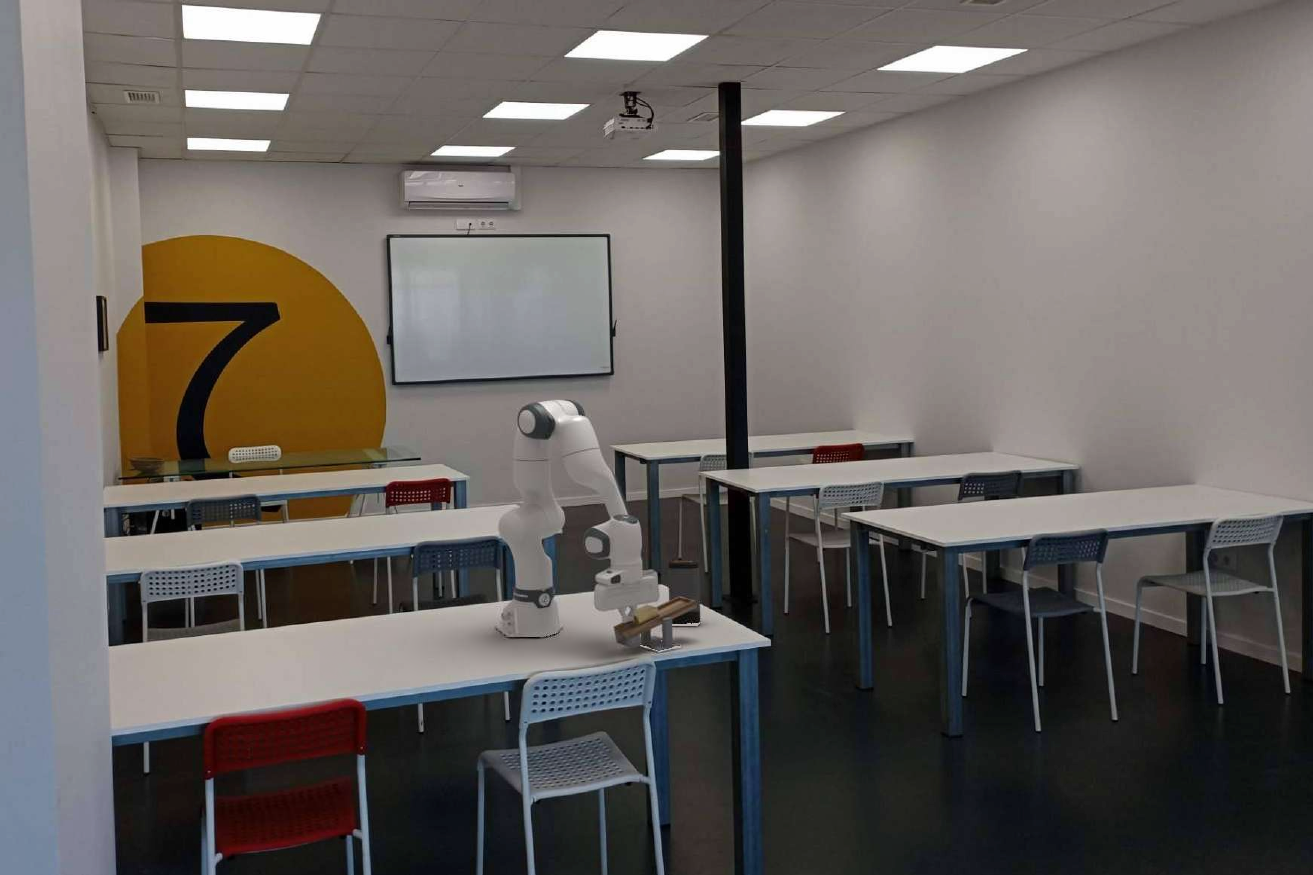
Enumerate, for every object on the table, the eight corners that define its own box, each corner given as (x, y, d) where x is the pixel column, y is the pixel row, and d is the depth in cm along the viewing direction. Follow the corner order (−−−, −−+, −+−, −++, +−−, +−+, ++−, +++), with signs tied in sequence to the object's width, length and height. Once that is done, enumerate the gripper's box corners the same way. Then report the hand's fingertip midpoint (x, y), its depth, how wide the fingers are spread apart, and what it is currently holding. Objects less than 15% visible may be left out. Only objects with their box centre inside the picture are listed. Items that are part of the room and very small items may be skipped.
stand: (632, 643, 325) (631, 613, 325) (654, 639, 330) (654, 608, 329) (658, 653, 315) (658, 621, 314) (681, 648, 320) (680, 616, 319)
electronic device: (700, 622, 349) (699, 558, 347) (699, 627, 343) (698, 562, 341) (670, 622, 350) (669, 558, 348) (669, 627, 344) (667, 562, 342)
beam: (617, 642, 319) (613, 626, 318) (682, 611, 332) (679, 596, 331) (633, 648, 313) (629, 632, 312) (699, 616, 326) (695, 600, 325)
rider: (630, 624, 320) (627, 613, 319) (649, 615, 324) (647, 604, 323) (640, 628, 316) (637, 616, 315) (659, 618, 319) (657, 607, 319)
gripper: (650, 566, 324) (651, 614, 325) (590, 576, 312) (591, 625, 313) (663, 570, 318) (664, 618, 320) (602, 580, 307) (604, 630, 308)
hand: (628, 621), depth 316 cm, fingers closed
